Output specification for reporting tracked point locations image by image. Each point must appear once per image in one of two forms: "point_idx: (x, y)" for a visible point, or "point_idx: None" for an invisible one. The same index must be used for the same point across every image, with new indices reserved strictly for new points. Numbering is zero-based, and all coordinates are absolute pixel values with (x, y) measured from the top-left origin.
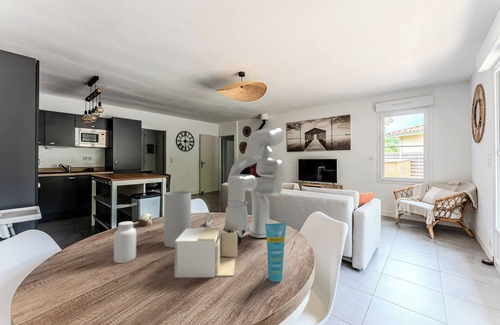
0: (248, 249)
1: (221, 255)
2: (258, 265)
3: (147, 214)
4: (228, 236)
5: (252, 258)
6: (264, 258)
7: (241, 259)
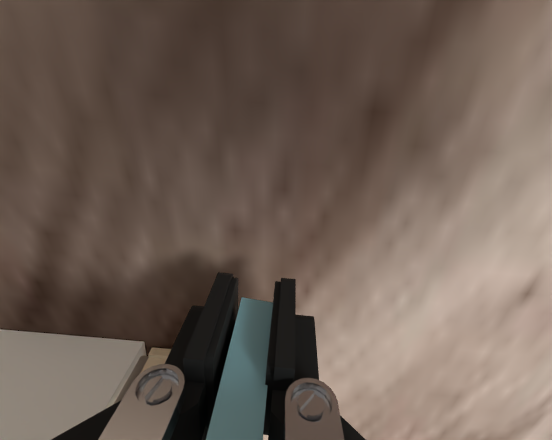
0: (389, 204)
1: (144, 367)
2: (399, 430)
3: None
4: None
5: (383, 359)
6: (475, 367)
7: None
